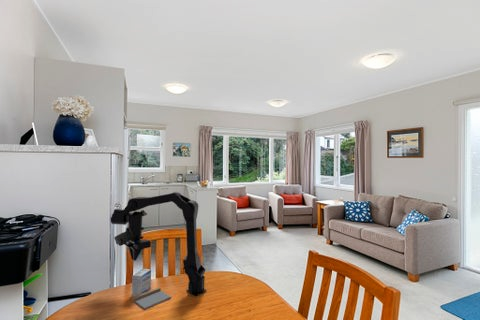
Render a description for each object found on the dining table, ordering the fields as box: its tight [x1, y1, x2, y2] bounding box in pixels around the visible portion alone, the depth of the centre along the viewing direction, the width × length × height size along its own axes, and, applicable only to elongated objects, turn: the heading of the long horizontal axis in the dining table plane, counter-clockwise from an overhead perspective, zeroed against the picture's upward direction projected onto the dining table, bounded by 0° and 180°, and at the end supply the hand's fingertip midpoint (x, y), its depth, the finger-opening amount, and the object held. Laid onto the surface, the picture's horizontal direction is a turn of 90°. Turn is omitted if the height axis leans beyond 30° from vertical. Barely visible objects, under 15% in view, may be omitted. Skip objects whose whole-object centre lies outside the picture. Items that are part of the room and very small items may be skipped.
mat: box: [132, 286, 172, 311], centre depth 107 cm, size 12×9×2 cm
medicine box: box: [131, 268, 152, 297], centre depth 113 cm, size 8×4×9 cm, turn 168°
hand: (133, 259), depth 118 cm, fingers closed
